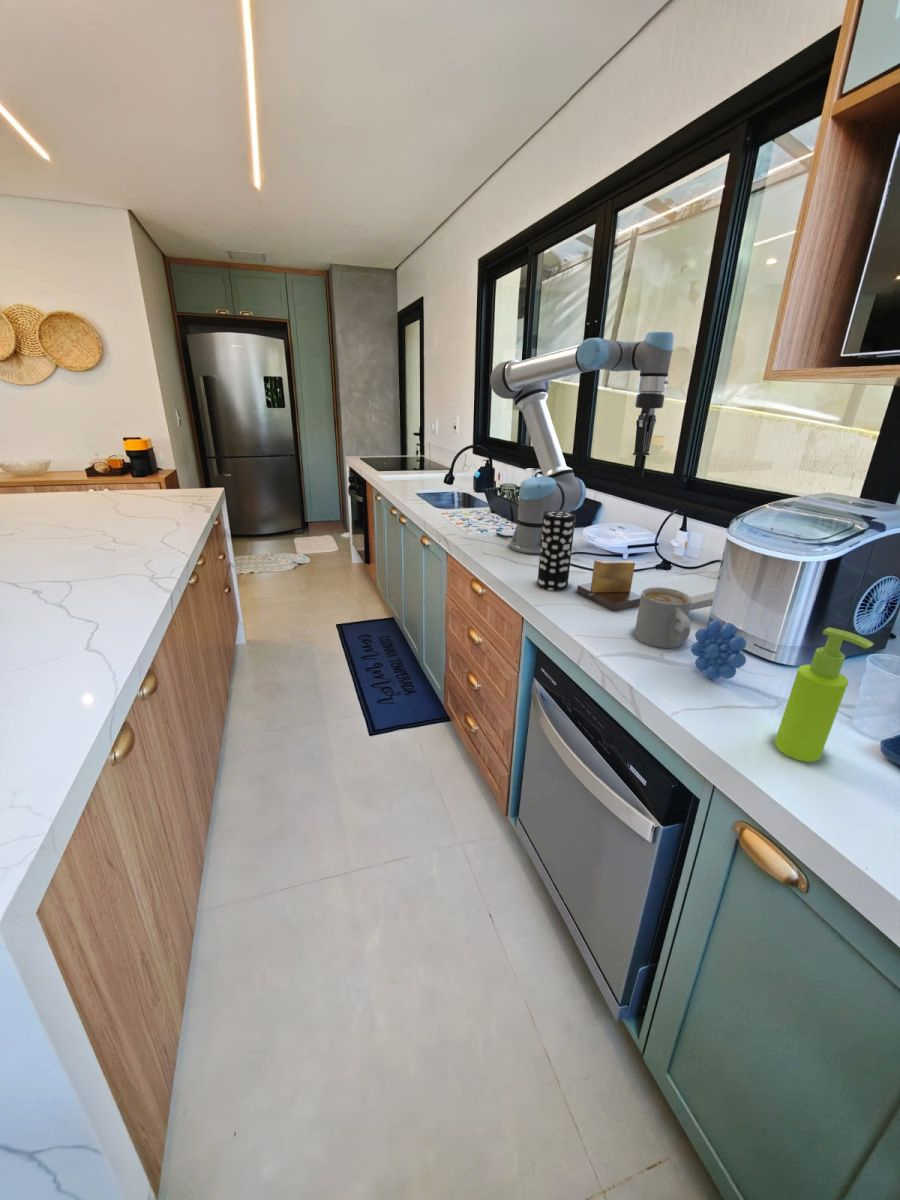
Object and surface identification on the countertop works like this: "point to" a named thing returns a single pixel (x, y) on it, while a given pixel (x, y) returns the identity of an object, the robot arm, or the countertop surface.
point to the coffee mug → (663, 617)
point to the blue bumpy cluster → (719, 650)
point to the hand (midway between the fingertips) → (637, 477)
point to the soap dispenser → (815, 699)
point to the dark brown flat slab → (610, 598)
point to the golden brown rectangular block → (612, 576)
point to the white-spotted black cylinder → (555, 550)
